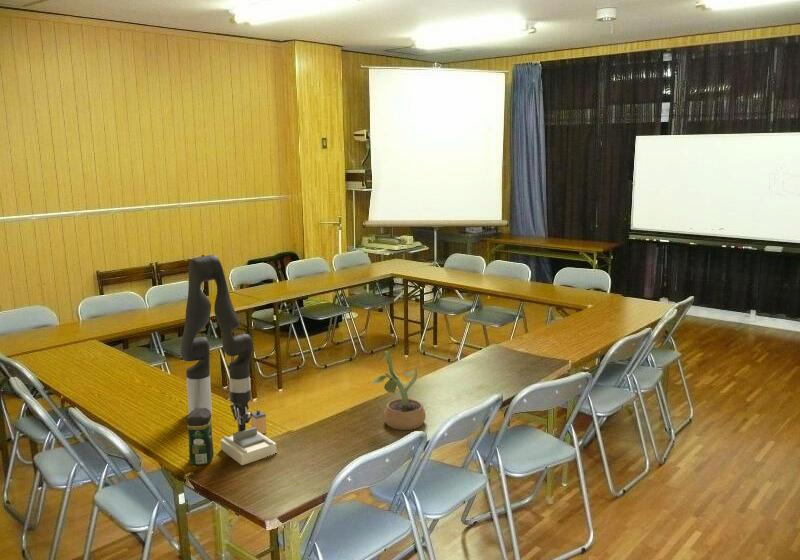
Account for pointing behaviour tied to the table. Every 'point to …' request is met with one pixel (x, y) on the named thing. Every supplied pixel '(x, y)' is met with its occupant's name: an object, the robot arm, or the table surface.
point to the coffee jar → (200, 436)
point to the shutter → (247, 437)
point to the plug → (259, 421)
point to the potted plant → (401, 401)
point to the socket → (248, 449)
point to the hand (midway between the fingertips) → (242, 432)
